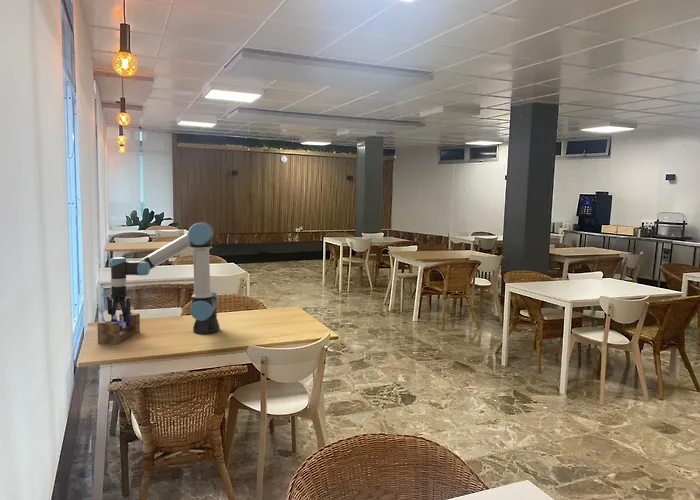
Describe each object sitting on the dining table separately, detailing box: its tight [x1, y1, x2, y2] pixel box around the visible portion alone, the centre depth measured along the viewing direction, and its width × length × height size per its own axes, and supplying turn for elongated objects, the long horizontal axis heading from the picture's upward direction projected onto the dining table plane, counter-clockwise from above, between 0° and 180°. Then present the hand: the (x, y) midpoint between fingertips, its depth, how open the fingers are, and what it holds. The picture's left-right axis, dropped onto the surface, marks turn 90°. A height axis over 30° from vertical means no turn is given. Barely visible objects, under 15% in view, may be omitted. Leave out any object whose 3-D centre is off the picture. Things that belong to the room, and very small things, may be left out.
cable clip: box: [110, 315, 129, 329], centre depth 278 cm, size 12×4×6 cm, turn 172°
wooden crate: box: [97, 311, 141, 345], centre depth 278 cm, size 10×24×12 cm, turn 173°
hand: (119, 327), depth 278 cm, fingers closed on cable clip, 4 cm apart
